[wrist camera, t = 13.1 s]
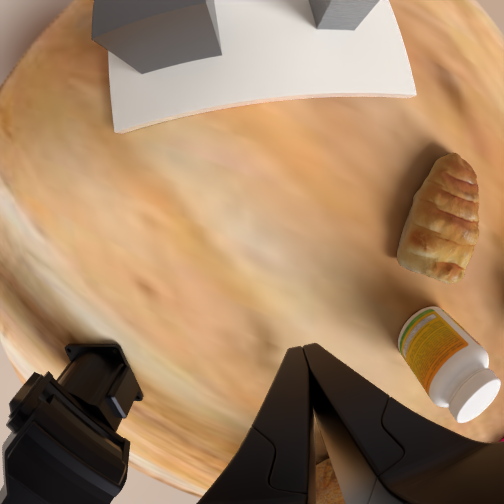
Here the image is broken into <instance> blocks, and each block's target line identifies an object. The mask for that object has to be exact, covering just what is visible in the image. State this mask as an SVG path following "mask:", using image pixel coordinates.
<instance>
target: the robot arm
mask: <svg viewBox="0 0 504 504" xmlns="http://www.w3.org/2000/svg"><path fill="white" fill-rule="evenodd" d="M115 349H116V350H117V351H116V350H115ZM65 351H66V353H67V355H68V357H69V359H70V361H71V362H70V363H69V364H68V366H67V367H66V368H65V370H64V371H63V372H62V373H61V375H60V376H59V377H58V379H57V380H55V379H54V378H53V375H52V374H51V373H50V372H49V371H48V372H47V373H46V374H45V375H44V376H43V375H42V374H41V375H40V374H38V373H36V372H34V373H33V374H32V376H31V377H30V378H29V379H28V380H27V382H26V383H25V384H24V385H23V386H22V388H21V389H20V390H19V391H18V393H17V394H16V395H15V397H14V398H13V399H12V400H11V401H10V403H9V406H10V412H11V413H10V415H9V418H10V419H9V421H8V422H7V424H6V426H7V427H8V428H9V429H10V430H11V431H12V432H11V434H10V435H9V436H8V438H7V439H6V441H5V442H4V444H3V447H2V450H3V452H2V453H3V454H2V455H3V475H4V485H3V487H2V489H1V491H0V504H110V503H111V501H112V500H113V498H114V497H116V496H117V495H118V494H119V492H120V491H121V490H122V488H123V486H124V484H125V482H126V479H127V471H128V460H129V450H130V441H128V440H127V439H126V438H123V437H121V436H120V435H119V434H117V433H116V431H117V429H118V427H119V424H120V422H121V420H122V418H123V419H125V418H126V417H127V415H128V413H129V411H130V408H131V406H132V404H133V402H134V401H142V399H143V397H144V396H143V393H142V391H141V389H140V387H139V385H138V383H137V380H136V378H135V376H134V374H133V372H132V370H131V368H130V366H129V364H128V362H127V360H126V358H125V355H124V353H123V351H122V349H121V347H120V346H119V345H117V344H67V345H66V347H65ZM389 397H390V396H389V395H388V394H386V393H385V392H383V391H382V390H381V389H379V388H378V387H376V386H375V385H373V384H372V383H371V382H369V381H368V380H366V379H365V378H364V377H362V376H361V375H360V374H358V373H357V372H355V371H354V370H353V369H351V368H350V367H348V366H347V365H346V364H344V363H343V362H342V361H340V360H339V359H338V358H336V357H335V356H333V355H332V354H331V353H329V352H328V351H327V350H325V349H324V348H323V347H321V346H320V345H319V344H317V343H312V344H308V345H304V346H303V348H302V347H301V346H297V347H292V348H289V349H288V350H287V352H286V354H285V356H284V359H283V361H282V363H281V365H280V368H279V370H278V372H277V374H276V376H275V378H274V381H273V383H272V385H271V387H270V389H269V391H268V393H267V395H266V398H265V400H264V402H263V404H262V406H261V408H260V410H259V412H258V414H257V416H256V418H255V420H254V422H253V424H252V427H251V428H250V430H249V432H248V433H247V435H246V437H245V439H244V441H243V443H242V444H241V446H240V448H239V449H238V451H237V453H236V454H235V456H234V457H233V459H232V460H231V461H230V463H229V464H228V466H227V467H226V468H225V470H224V471H223V472H222V473H221V475H220V476H219V477H218V478H217V480H216V481H215V482H214V483H213V485H212V486H211V487H210V488H209V490H208V491H207V492H206V493H205V494H204V496H203V497H202V498H201V499H200V500H199V502H198V503H197V504H316V454H315V423H314V414H315V417H316V421H317V424H318V426H319V429H320V432H321V435H322V438H323V440H324V443H325V446H326V449H327V452H328V455H329V457H330V460H331V463H332V466H333V469H334V472H335V475H336V477H337V480H338V483H339V486H340V489H341V492H342V494H343V497H344V500H345V503H346V504H504V441H503V442H495V443H484V442H478V441H475V440H471V439H469V438H466V437H464V436H462V435H460V434H457V433H455V432H453V431H451V430H449V429H447V428H444V427H442V426H440V425H438V424H436V423H434V422H432V421H430V420H428V419H426V418H424V417H422V416H421V415H419V414H417V413H415V412H413V411H412V410H410V409H409V408H407V407H405V406H404V405H402V404H401V403H399V402H398V401H396V400H395V399H394V398H392V397H390V398H389ZM313 410H314V411H313Z"/></svg>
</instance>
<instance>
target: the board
mask: <svg viewBox="0 0 504 504" xmlns="http://www.w3.org/2000/svg"><path fill="white" fill-rule="evenodd" d="M214 3H215V9H216V16H217V23H218V30H219V36H220V43H221V50H222V55H221V56H216V57H210V58H205V59H200V60H195V61H191V62H186V63H182V64H178V65H174V66H170V67H166V68H162V69H158V70H155V71H151V72H148V73H145V74H141V73H139V72H138V71H136V70H135V69H134V68H132V67H131V66H130V65H128V64H127V63H125V62H124V61H123V60H121V59H120V58H118V57H117V56H115V55H114V54H113V53H111V52H110V51H108V61H109V80H110V94H111V105H112V115H113V124H114V132H115V133H121V134H123V133H126V132H130V131H133V130H136V129H140V128H143V127H147V126H150V125H154V124H157V123H161V122H165V121H169V120H173V119H177V118H182V117H186V116H190V115H195V114H200V113H204V112H210V111H215V110H220V109H226V108H232V107H238V106H244V105H251V104H258V103H266V102H275V101H284V100H295V99H307V98H324V97H396V98H411V97H414V96H416V95H417V94H416V89H415V84H414V80H413V76H412V72H411V68H410V64H409V60H408V56H407V53H406V49H405V46H404V43H403V39H402V36H401V33H400V30H399V27H398V24H397V21H396V18H395V16H394V13H393V10H392V8H391V5H390V2H389V0H380V1H379V2H378V3H377V4H376V5H375V6H374V8H373V9H372V10H371V11H370V12H369V14H368V15H367V16H366V17H365V18H364V20H363V21H362V22H361V23H360V24H359V26H358V27H357V28H356V29H355V30H354V31H353V30H327V29H317V28H316V25H315V21H314V17H313V14H312V11H311V7H310V4H309V1H308V0H214Z"/></svg>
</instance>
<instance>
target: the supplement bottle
mask: <svg viewBox="0 0 504 504" xmlns="http://www.w3.org/2000/svg"><path fill="white" fill-rule="evenodd" d="M398 348H399V351H400V353H401V355H402V356H403V358H404V359H405V361H406V362H407V364H408V365H409V366H410V368H411V370H412V371H413V372H414V374H415V375H416V377H417V379H418V380H419V381H420V383H421V385H422V386H423V388H424V389H425V391H426V392H427V394H428V395H429V397H430V399H431V400H432V401H433V403H434V404H436V405H437V406H439V407H449V410H450V412H451V414H452V415H453V417H454V418H455V420H456V421H457V422H458V423H465V422H468V421H470V420H472V419H473V418H475V417H476V416H478V415H479V414H480V413H482V412H483V411H484V410H485V409H486V408H487V407H488V406H489V405H490V404H491V402H492V401H493V400H494V398H495V397H496V395H497V393H498V391H499V389H500V384H501V383H500V380H499V379H498V377H497V376H496V375H495V374H494V372H493V371H492V370H490V369H488V365H489V358H488V354H487V352H486V351H485V349H484V348H483V347H482V346H481V345H480V344H479V343H478V342H477V341H476V340H475V339H474V338H473V337H472V336H471V335H470V334H469V333H468V332H467V331H466V330H464V329H463V328H462V327H461V326H460V325H459V324H458V323H457V322H456V321H455V320H454V319H453V318H452V317H451V316H450V315H449V314H447V313H446V312H445V311H444V310H442V309H441V308H439V307H434V306H431V307H426V308H424V309H421V310H420V311H418V312H416V313H415V314H414V315H412V316H411V317H410V318H409V319H408V320H407V322H406V323H405V324H404V326H403V328H402V330H401V332H400V335H399V338H398Z"/></svg>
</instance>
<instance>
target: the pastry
mask: <svg viewBox="0 0 504 504" xmlns="http://www.w3.org/2000/svg"><path fill="white" fill-rule="evenodd" d="M476 178H477V177H476V174H475V172H474V170H473V169H472V167H471V166H470V165H469V164H468V163H467V162H466V161H465V160H464V159H462V158H461V157H460V155H458V154H456V153H450V154H448V155H446V156H443V157H441V158H439V159H437V160H436V162H435V163H434V165H433V167H432V169H431V170H430V173H429V175H428V176H427V178H426V179H425V180H424V182H423V184H422V186H421V188H420V189H419V190H418V191H417V192H416V193H415V195H414V197H413V205H412V207H411V209H410V211H409V215H408V218H407V220H406V223H405V225H404V228H403V231H402V235H401V238H400V241H399V247H398V250H397V261H398V263H399V265H400V266H402V267H404V268H406V269H408V270H411V271H413V272H417V273H421V274H424V275H427V276H428V277H431V278H434V279H437V280H439V281H442V282H445V283H457V282H459V281H461V280H462V278H463V276H464V270H465V268H466V266H467V264H468V262H469V260H470V258H471V256H472V254H473V251H474V245H475V243H476V241H477V239H478V236H479V229H478V222H479V216H478V207H479V195H478V185H477V180H476Z"/></svg>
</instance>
